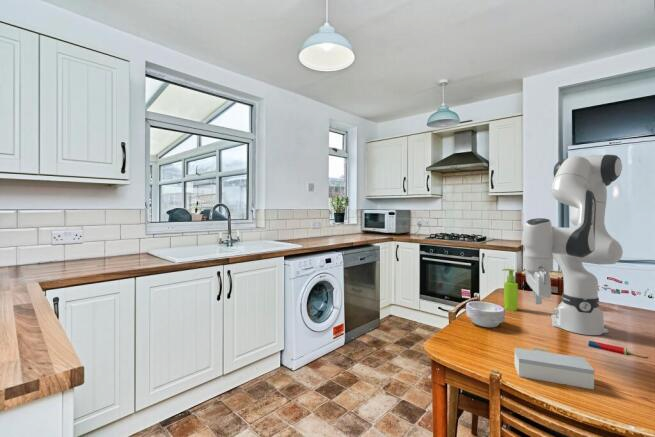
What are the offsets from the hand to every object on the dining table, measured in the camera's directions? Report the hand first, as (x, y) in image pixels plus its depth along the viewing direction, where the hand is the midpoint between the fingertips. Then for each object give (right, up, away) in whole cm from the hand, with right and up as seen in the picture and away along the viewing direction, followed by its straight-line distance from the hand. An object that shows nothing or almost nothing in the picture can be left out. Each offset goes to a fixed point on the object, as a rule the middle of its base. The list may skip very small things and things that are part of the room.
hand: (537, 303), depth 112 cm
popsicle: (+27, -17, -1) cm, 32 cm away
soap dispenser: (+17, -16, +47) cm, 52 cm away
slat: (-5, -17, -12) cm, 22 cm away
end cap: (-8, -17, -18) cm, 26 cm away
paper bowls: (-6, -16, +26) cm, 31 cm away
